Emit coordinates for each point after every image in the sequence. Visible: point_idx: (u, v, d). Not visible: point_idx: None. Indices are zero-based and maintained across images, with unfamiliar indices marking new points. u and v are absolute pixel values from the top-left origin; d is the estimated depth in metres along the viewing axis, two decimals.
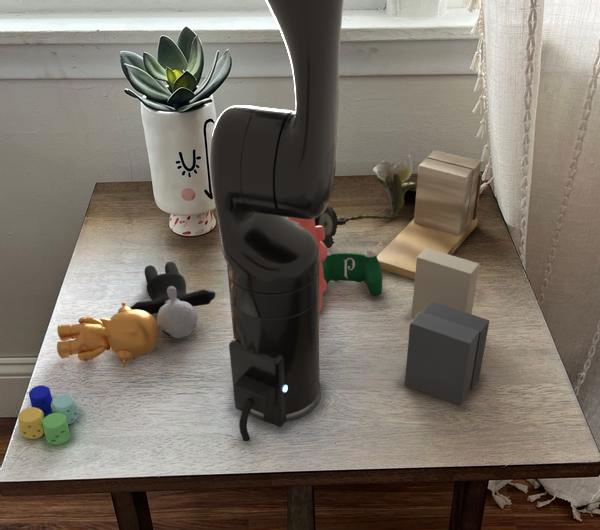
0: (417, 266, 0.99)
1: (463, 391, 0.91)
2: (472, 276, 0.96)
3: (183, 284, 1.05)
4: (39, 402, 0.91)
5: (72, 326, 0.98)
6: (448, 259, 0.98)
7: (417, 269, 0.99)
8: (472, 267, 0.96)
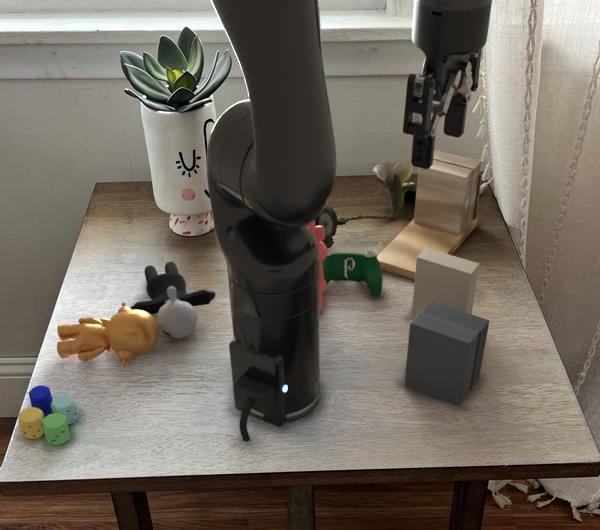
0: (417, 266, 0.99)
1: (463, 391, 0.91)
2: (472, 276, 0.96)
3: (183, 284, 1.05)
4: (39, 402, 0.91)
5: (72, 326, 0.98)
6: (448, 259, 0.98)
7: (417, 269, 0.99)
8: (472, 267, 0.96)
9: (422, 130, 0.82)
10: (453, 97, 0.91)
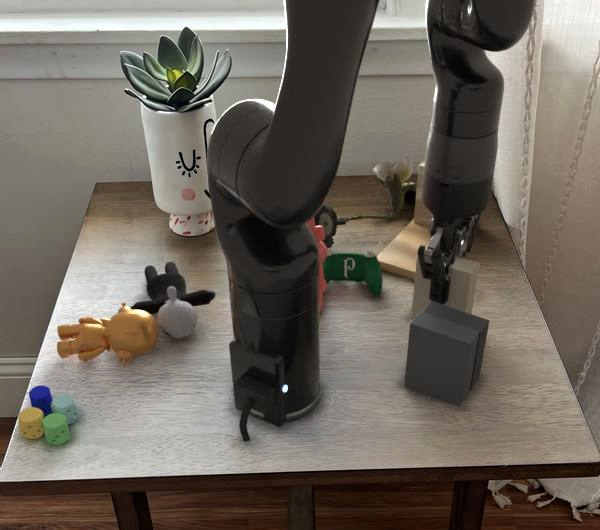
0: (417, 266, 0.99)
1: (463, 391, 0.91)
2: (472, 276, 0.96)
3: (183, 284, 1.05)
4: (39, 402, 0.91)
5: (72, 326, 0.98)
6: None
7: (417, 269, 0.99)
8: (472, 267, 0.96)
9: None
10: None
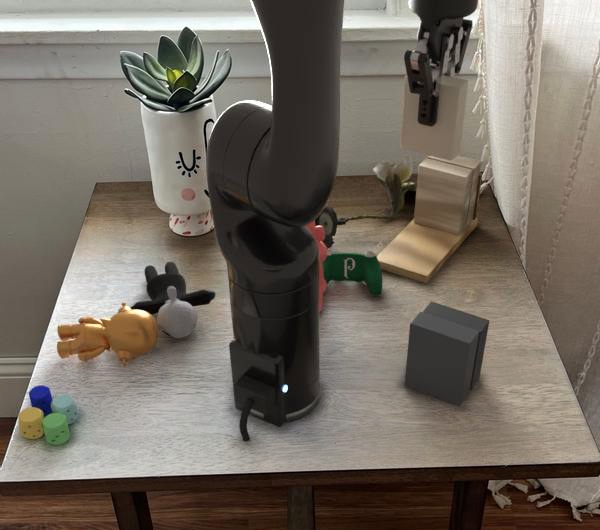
0: (405, 87, 0.97)
1: (463, 391, 0.91)
2: (461, 92, 0.95)
3: (183, 284, 1.05)
4: (39, 402, 0.91)
5: (72, 326, 0.98)
6: None
7: (405, 90, 0.98)
8: (461, 83, 0.95)
9: None
10: None
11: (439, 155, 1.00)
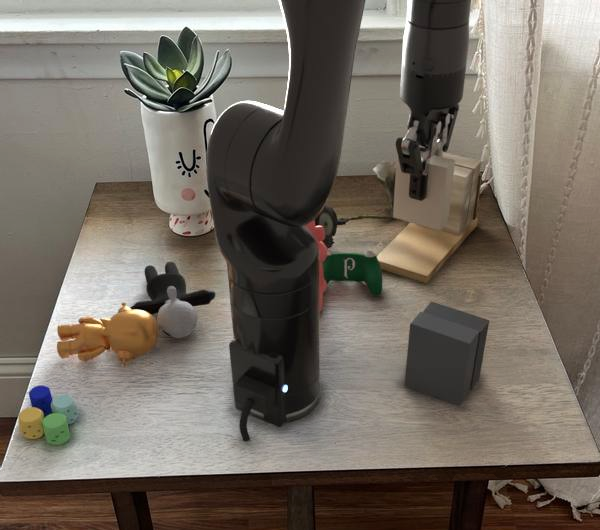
0: (397, 164, 1.06)
1: (463, 391, 0.91)
2: (448, 171, 1.03)
3: (183, 284, 1.05)
4: (39, 402, 0.91)
5: (72, 326, 0.98)
6: None
7: (397, 167, 1.06)
8: (448, 163, 1.03)
9: None
10: None
11: (429, 225, 1.09)
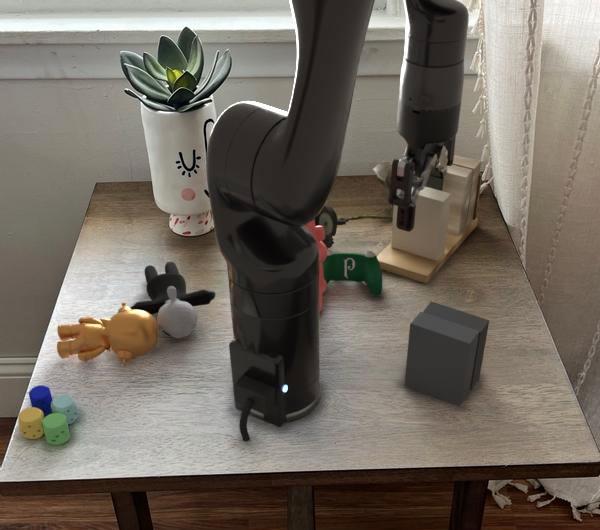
0: None
1: (463, 391, 0.91)
2: (444, 204, 1.06)
3: (183, 284, 1.05)
4: (39, 402, 0.91)
5: (72, 326, 0.98)
6: (423, 190, 1.07)
7: None
8: (445, 196, 1.06)
9: (404, 203, 1.01)
10: (432, 171, 1.09)
11: (425, 256, 1.12)
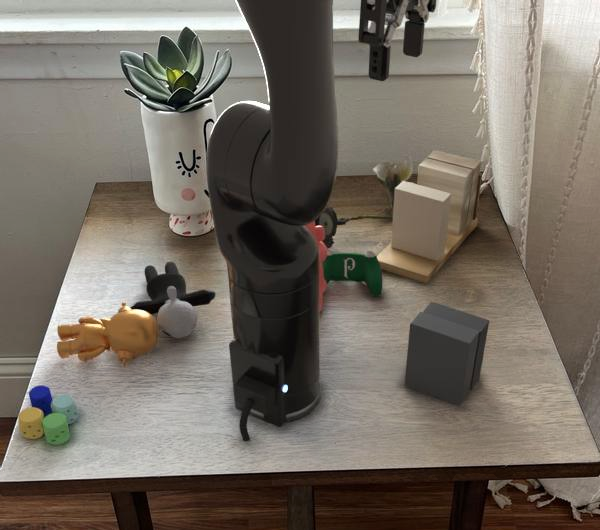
0: (395, 197, 1.09)
1: (463, 391, 0.91)
2: (444, 204, 1.06)
3: (183, 284, 1.05)
4: (39, 402, 0.91)
5: (72, 326, 0.98)
6: (423, 190, 1.07)
7: (395, 200, 1.09)
8: (445, 196, 1.06)
9: (376, 38, 0.87)
10: (411, 16, 0.95)
11: (425, 256, 1.12)
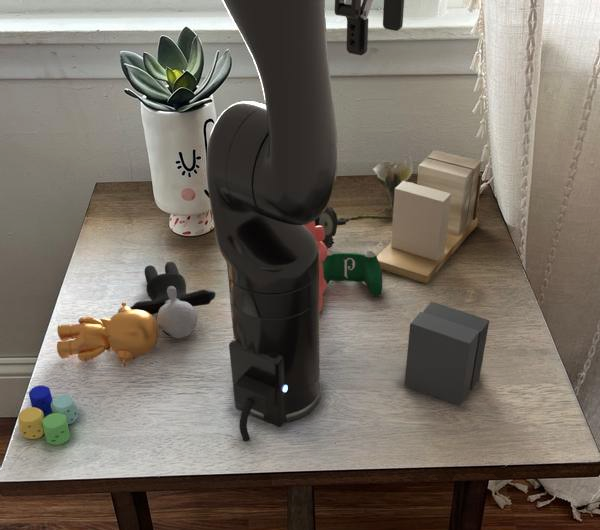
0: (395, 197, 1.09)
1: (463, 391, 0.91)
2: (444, 204, 1.06)
3: (183, 284, 1.05)
4: (39, 402, 0.91)
5: (72, 326, 0.98)
6: (423, 190, 1.07)
7: (395, 200, 1.09)
8: (445, 196, 1.06)
9: (352, 9, 0.84)
10: None
11: (425, 256, 1.12)
